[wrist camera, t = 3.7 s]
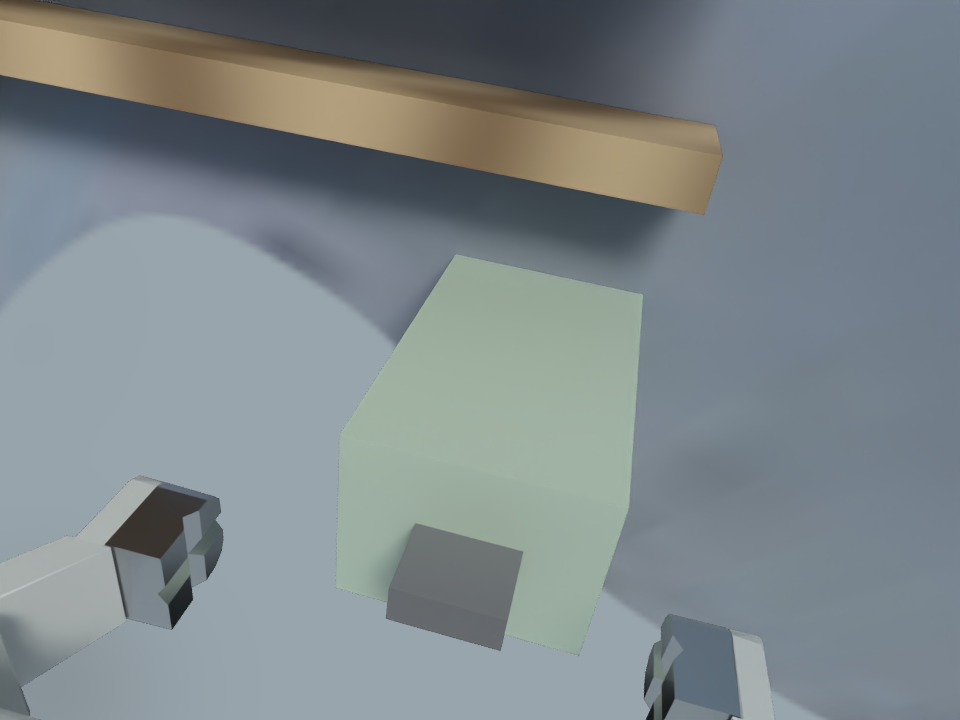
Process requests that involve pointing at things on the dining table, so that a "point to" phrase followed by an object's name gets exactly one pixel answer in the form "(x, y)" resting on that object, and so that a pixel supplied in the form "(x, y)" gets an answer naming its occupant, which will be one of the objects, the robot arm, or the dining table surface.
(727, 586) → the dining table surface
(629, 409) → the cabinet block
